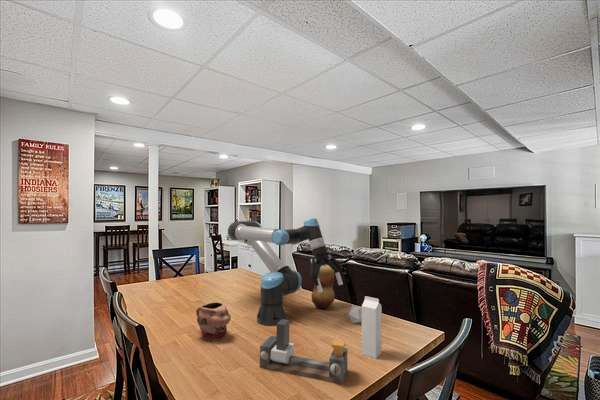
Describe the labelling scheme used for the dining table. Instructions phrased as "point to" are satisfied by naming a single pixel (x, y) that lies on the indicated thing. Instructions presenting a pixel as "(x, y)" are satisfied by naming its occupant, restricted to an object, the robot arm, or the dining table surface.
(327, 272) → the butternut squash
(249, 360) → the dining table surface
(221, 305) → the decorative planter
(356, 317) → the die
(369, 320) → the milk
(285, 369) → the rail base
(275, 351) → the carriage
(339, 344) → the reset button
